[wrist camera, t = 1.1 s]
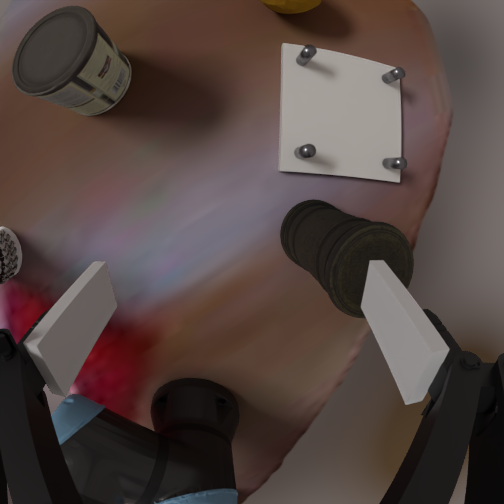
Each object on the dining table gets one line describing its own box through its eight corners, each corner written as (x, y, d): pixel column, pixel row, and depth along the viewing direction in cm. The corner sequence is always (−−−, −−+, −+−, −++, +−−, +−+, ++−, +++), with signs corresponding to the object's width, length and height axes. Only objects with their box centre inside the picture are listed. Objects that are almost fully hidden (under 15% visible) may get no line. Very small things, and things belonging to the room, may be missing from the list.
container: (292, 274, 41) (341, 340, 24) (269, 214, 39) (311, 246, 22) (348, 249, 41) (423, 296, 24) (329, 189, 39) (407, 204, 22)
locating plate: (395, 182, 40) (415, 184, 35) (278, 171, 37) (287, 170, 32) (394, 70, 35) (413, 61, 30) (281, 46, 33) (290, 30, 28)
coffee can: (67, 61, 29) (17, 27, 16) (132, 42, 30) (99, -8, 17) (66, 124, 32) (7, 109, 19) (133, 107, 33) (92, 76, 20)
